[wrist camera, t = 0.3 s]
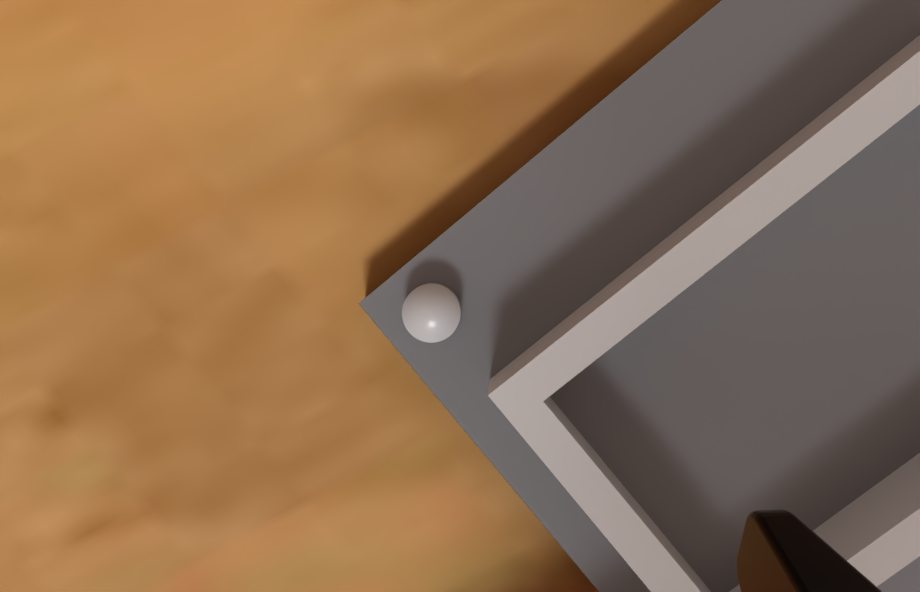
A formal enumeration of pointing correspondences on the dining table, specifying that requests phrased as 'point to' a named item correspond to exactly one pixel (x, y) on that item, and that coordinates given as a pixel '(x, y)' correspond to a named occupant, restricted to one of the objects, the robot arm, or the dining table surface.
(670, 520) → the chassis plate
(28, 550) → the dining table surface
